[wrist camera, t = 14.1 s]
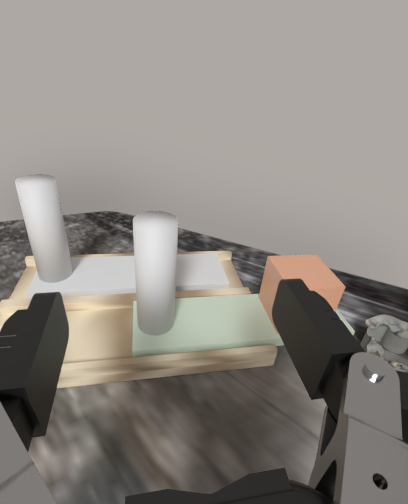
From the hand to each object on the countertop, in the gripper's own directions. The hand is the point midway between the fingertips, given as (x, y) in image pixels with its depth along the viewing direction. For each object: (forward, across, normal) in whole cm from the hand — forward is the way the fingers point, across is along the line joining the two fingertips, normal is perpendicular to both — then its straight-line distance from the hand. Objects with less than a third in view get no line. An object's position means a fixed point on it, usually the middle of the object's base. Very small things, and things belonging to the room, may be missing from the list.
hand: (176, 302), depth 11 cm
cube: (+11, -12, +12) cm, 21 cm away
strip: (+19, +2, +13) cm, 23 cm away
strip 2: (+11, -8, +13) cm, 19 cm away
